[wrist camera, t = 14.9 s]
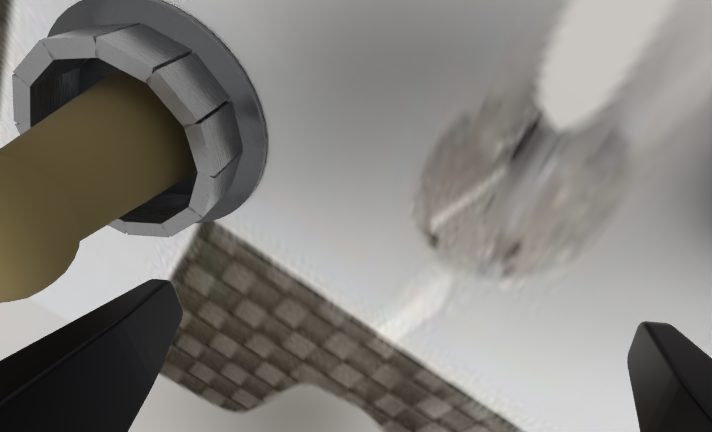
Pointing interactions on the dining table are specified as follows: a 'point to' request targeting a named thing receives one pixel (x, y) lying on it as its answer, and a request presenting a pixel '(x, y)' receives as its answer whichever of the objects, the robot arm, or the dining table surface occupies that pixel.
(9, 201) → the olive game pawn
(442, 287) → the dining table surface
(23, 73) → the duct collar
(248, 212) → the dining table surface
